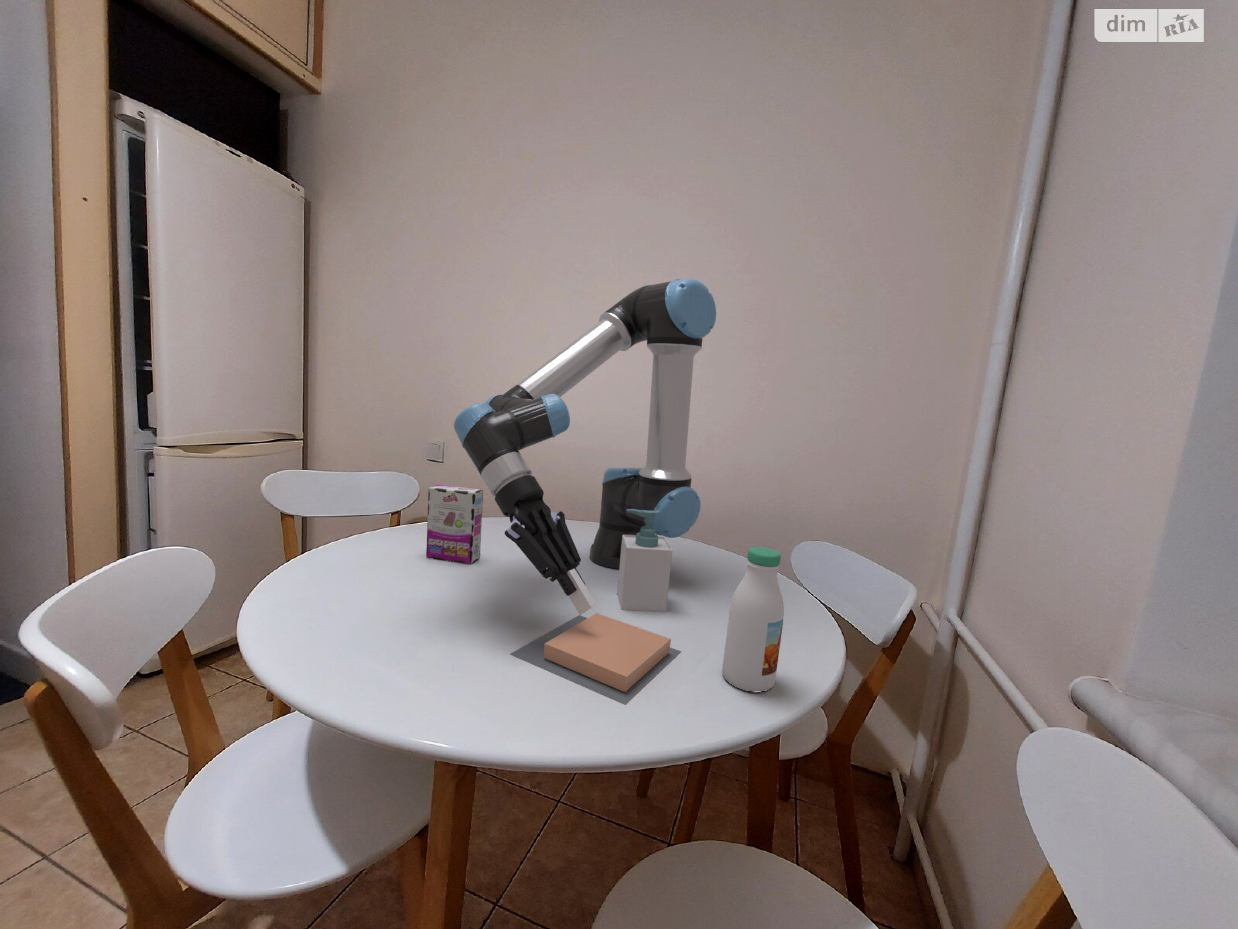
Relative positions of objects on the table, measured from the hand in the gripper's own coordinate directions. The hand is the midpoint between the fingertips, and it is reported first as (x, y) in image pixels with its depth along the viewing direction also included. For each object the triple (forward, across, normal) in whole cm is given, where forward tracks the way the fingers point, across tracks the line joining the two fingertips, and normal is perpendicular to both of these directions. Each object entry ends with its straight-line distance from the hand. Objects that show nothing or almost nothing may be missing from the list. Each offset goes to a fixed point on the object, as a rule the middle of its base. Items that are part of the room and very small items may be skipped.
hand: (588, 609), depth 80 cm
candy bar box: (-28, -16, -39) cm, 50 cm away
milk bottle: (+22, -9, +11) cm, 26 cm away
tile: (+2, 0, -5) cm, 6 cm away
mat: (+7, 0, -3) cm, 8 cm away
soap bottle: (+4, -22, -7) cm, 24 cm away
